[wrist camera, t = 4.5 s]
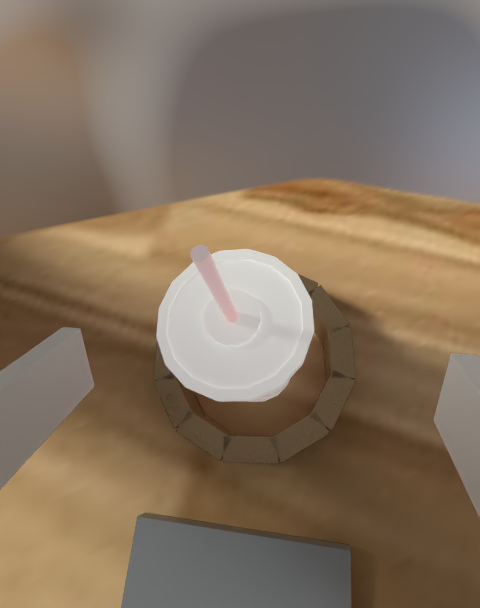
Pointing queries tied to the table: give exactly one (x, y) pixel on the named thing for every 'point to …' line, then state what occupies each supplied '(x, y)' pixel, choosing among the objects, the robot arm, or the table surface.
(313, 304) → the stone block ring
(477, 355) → the robot arm
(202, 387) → the beverage cup
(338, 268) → the table surface
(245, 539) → the coaster
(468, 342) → the table surface
